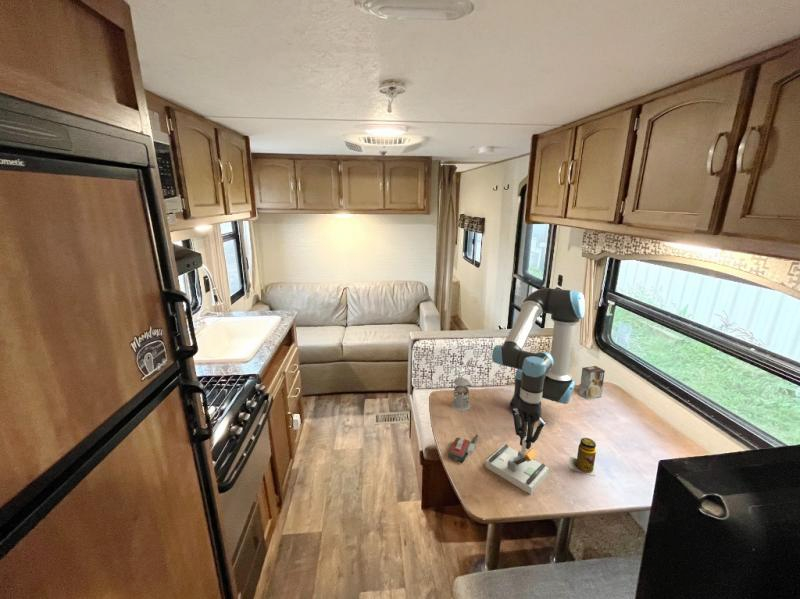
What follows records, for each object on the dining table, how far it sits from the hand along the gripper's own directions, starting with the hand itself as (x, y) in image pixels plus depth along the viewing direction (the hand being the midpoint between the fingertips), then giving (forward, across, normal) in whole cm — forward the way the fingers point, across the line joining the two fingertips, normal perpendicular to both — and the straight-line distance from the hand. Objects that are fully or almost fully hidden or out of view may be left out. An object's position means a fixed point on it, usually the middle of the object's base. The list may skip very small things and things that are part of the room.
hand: (524, 453), depth 129 cm
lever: (+5, -3, 0) cm, 6 cm away
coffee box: (+9, -3, +81) cm, 82 cm away
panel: (+10, -3, 0) cm, 10 cm away
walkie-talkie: (+10, -25, -4) cm, 27 cm away
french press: (+10, -47, +23) cm, 53 cm away
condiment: (+9, +14, +21) cm, 27 cm away
